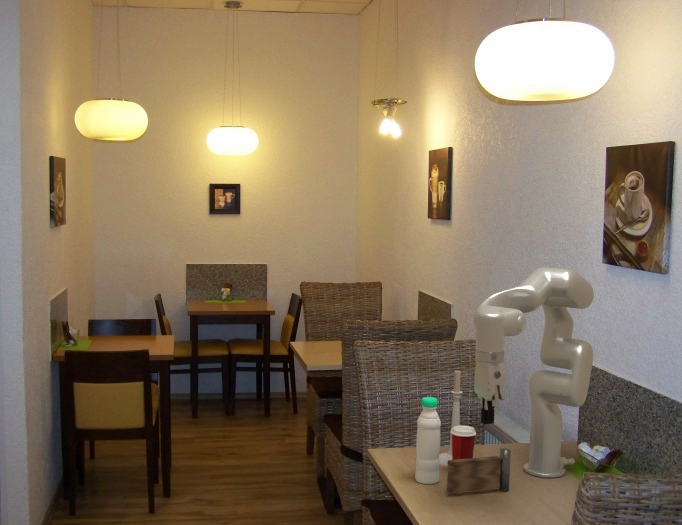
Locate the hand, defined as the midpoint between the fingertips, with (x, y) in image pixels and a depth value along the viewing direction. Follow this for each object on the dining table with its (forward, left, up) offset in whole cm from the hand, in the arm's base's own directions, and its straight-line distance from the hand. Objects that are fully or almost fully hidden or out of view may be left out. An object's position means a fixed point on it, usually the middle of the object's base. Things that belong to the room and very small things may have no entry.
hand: (487, 422), depth 222 cm
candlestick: (-7, -36, -23) cm, 43 cm away
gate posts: (-3, -11, -23) cm, 26 cm away
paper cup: (-5, -26, -23) cm, 35 cm away
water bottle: (+8, -22, -23) cm, 33 cm away
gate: (-1, -9, -22) cm, 24 cm away
